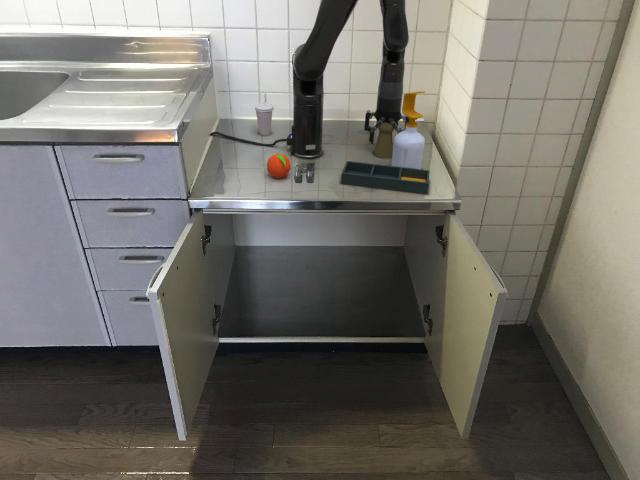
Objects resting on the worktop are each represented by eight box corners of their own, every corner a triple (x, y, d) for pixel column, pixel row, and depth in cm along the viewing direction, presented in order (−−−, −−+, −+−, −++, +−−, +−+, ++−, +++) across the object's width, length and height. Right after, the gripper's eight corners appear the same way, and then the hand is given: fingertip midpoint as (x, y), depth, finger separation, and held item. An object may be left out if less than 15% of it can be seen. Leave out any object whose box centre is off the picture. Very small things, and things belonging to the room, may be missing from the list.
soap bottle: (402, 179, 149) (413, 97, 135) (385, 167, 155) (393, 87, 141) (426, 173, 152) (439, 93, 138) (408, 161, 159) (419, 84, 145)
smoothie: (273, 137, 172) (272, 96, 164) (254, 136, 172) (252, 96, 164) (274, 130, 177) (274, 90, 170) (256, 129, 177) (255, 90, 169)
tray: (341, 183, 145) (341, 173, 143) (345, 170, 152) (346, 160, 150) (427, 194, 141) (428, 183, 139) (427, 180, 148) (429, 170, 146)
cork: (391, 158, 160) (395, 125, 154) (373, 156, 161) (376, 123, 155) (393, 151, 165) (397, 118, 159) (375, 149, 166) (378, 117, 160)
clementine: (296, 180, 146) (296, 157, 142) (275, 185, 143) (275, 162, 139) (283, 169, 152) (283, 147, 148) (262, 174, 148) (262, 152, 144)
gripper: (365, 96, 151) (361, 146, 160) (413, 100, 148) (406, 151, 158) (368, 88, 157) (364, 138, 166) (414, 92, 154) (407, 142, 164)
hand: (384, 144), depth 162 cm, fingers open, 7 cm apart
